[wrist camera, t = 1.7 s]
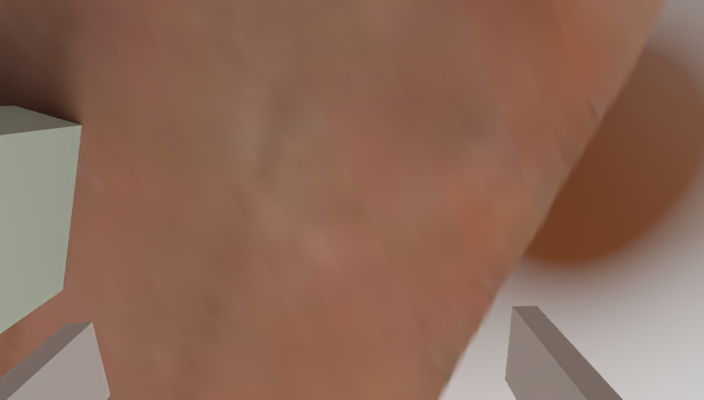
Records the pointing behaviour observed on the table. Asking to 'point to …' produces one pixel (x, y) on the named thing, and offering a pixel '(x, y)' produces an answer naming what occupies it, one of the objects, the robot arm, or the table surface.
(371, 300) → the table surface
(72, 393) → the robot arm
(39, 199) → the t block
